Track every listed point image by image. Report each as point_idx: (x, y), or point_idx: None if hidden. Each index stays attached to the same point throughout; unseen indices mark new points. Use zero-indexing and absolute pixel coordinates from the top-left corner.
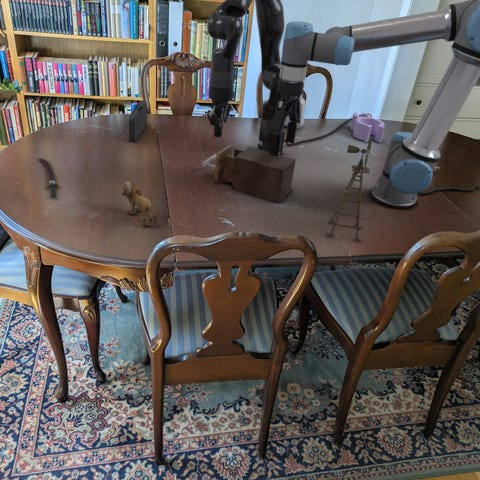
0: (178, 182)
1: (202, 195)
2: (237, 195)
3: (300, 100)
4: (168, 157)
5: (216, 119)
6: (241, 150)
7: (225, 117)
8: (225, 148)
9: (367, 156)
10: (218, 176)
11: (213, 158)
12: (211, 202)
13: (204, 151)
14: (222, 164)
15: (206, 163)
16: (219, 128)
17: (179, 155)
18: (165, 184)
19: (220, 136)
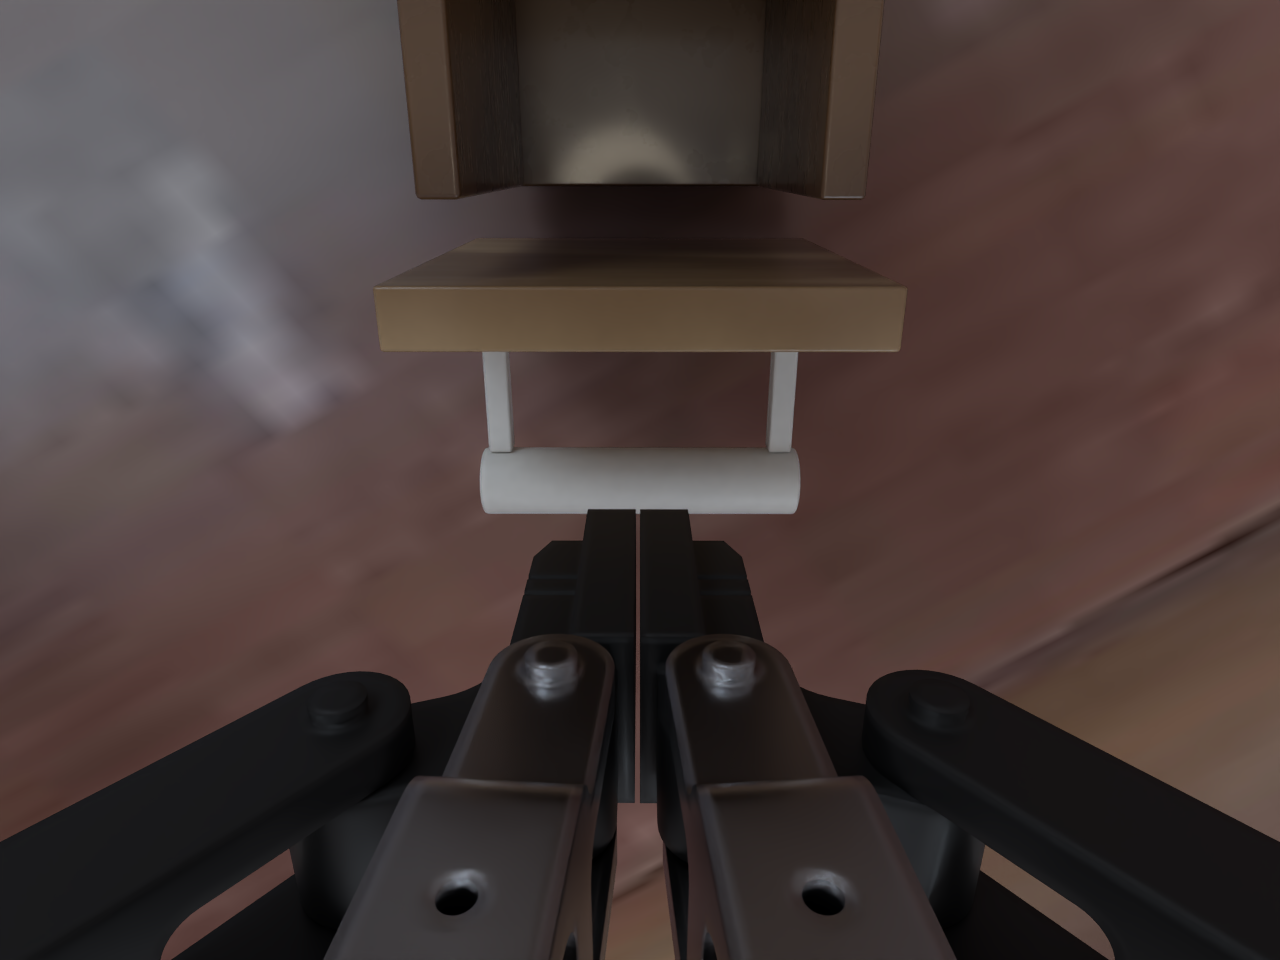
0: (980, 560)
1: (1147, 226)
2: None
3: None
4: None
5: (1270, 926)
6: (432, 29)
7: (448, 796)
8: (593, 330)
9: None
10: (801, 243)
11: (602, 463)
12: (1271, 51)
13: (201, 714)
14: (728, 258)
15: (793, 459)
16: (703, 633)
17: None
18: (1075, 624)
19: (642, 509)
